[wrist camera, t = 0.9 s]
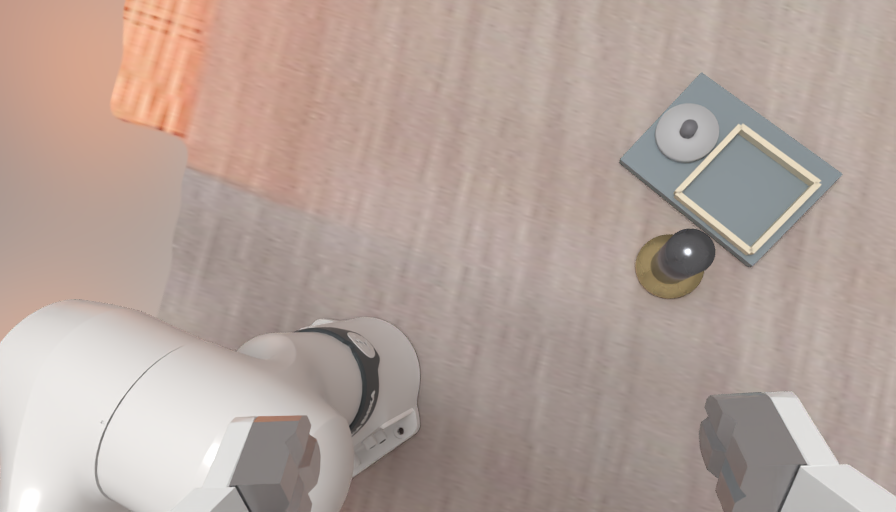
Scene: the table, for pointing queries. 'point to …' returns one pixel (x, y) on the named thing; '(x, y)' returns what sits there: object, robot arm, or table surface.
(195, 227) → the table surface
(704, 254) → the stamp
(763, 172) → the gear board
